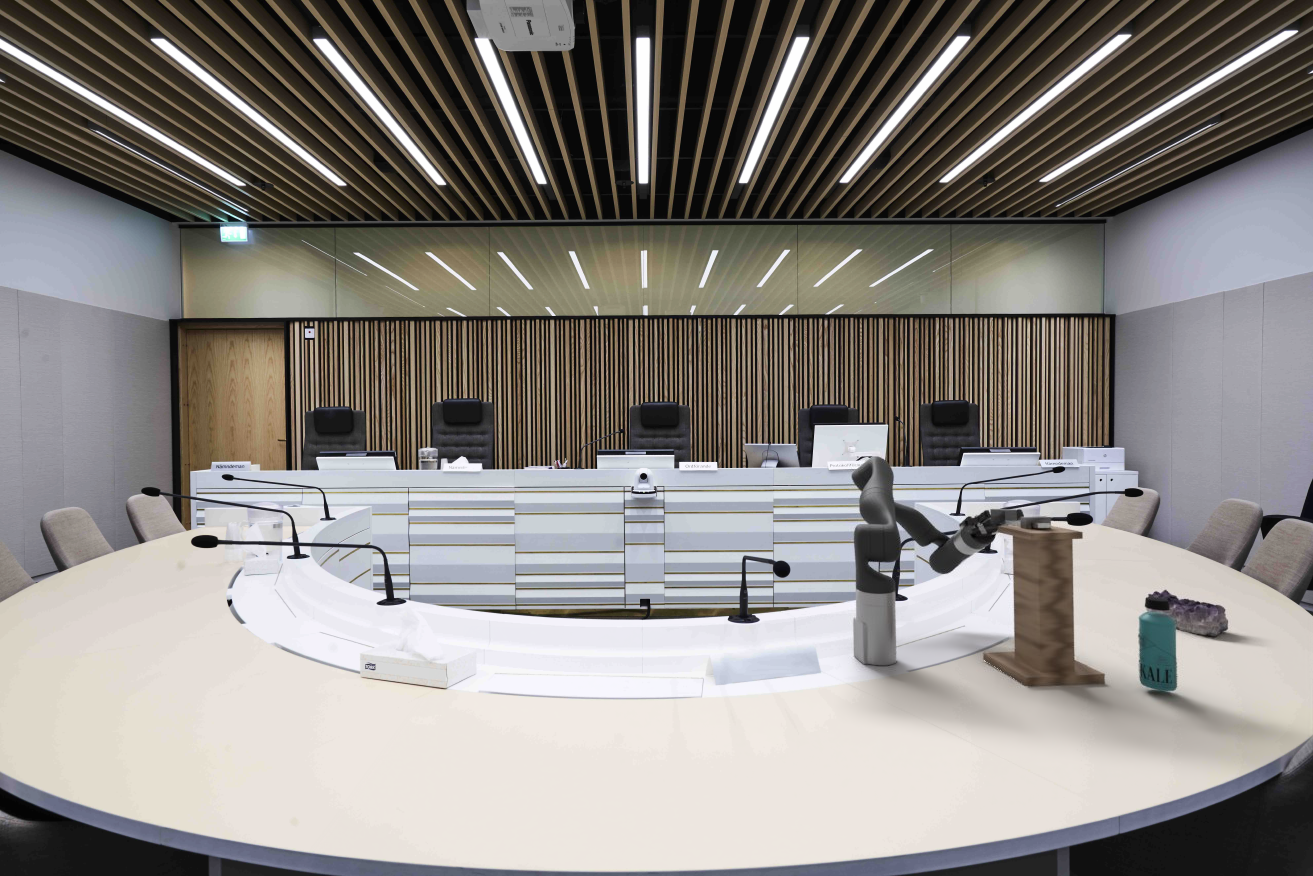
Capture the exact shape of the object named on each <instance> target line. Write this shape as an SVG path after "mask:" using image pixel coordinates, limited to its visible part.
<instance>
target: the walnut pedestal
mask: <svg viewBox="0 0 1313 876" xmlns="http://www.w3.org/2000/svg"><path fill="white" fill-rule="evenodd" d="M1031 523H1050V524H1051V528H1034V527H1031ZM998 532H999V533H1000V534H1004V535H1008V536H1012V569H1013V570H1012V571H1013V574H1012V575H1013V576H1012V578H1013V580H1012V581H1013V585H1012V587H1013V629H1014V630H1013V632H1014V633H1013V634H1014V635H1013V636H1014V637H1013V640H1014V641H1013V642H1014V643H1013V644H1014V646H1013V647H1014V651H996V652H995V651H992V652H983V653H982V660H985V661H986V662H988V663H990V664H991V665H993V666H995V667H996V668H998V669H999V670H1001V671H1002V672H1001V671H1000V672H1001V673H1003V672H1004V673H1005V675H1006V674H1007V675H1006V676H1008V675H1009V676H1011V677H1012V678H1011V677H1010V678H1011V679H1013V678H1014V679H1015V680H1014V679H1013V680H1014V681H1016V680H1017V682H1018V683H1019V682H1020V683H1019V684H1021V683H1022V684H1021V685H1023V686H1025V687H1026V686H1031V687H1049V686H1050V687H1052V686H1071V685H1072V686H1073V685H1091V684H1092V685H1093V684H1105V683H1106V682H1105V681H1106V678H1105V677H1106V676H1105V675H1106V674H1105V673H1103V672H1101V671H1099V670H1098V669H1095V668H1093V667H1090V666H1088V665H1087V664H1084V663H1083V662H1080V661H1078V660H1076V659H1075V614H1074V611H1075V609H1074V608H1075V607H1074V559H1073V558H1074V553H1073V552H1074V550H1073V543H1074V541H1073V540H1081V539H1083V533H1084V532H1083V531H1079V530H1074V529H1070V528H1063V527H1058V526H1054V525H1052V517H1051V516H1046V515H1045V516H1042V515H1041V516H1037V515H1036V516H1024V517H1021V526H998ZM999 533H998V534H999ZM1083 540H1084V539H1083ZM986 662H985V663H986ZM988 663H987V664H988ZM991 665H990V666H991ZM993 666H992V667H993ZM996 668H995V669H996ZM998 669H997V670H998ZM999 670H998V671H999ZM1004 673H1003V674H1004ZM1009 676H1008V677H1009Z"/></svg>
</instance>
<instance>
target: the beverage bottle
mask: <svg viewBox="0 0 1313 876" xmlns="http://www.w3.org/2000/svg"><path fill="white" fill-rule="evenodd" d="M1144 601H1145V603H1144V608H1145V609H1146V608H1149V609H1153V610H1161V611H1167V610H1170V607H1169V601H1168V600H1167V599H1164V598H1159V597H1148V596H1146V597H1145V600H1144ZM1138 623H1139V624H1138V625H1139V626H1138V635H1137V637H1138V644H1139V645H1138V646H1139V648H1138V652H1139V653H1138V658H1139V659H1138V663H1139V670H1138V672H1139V673H1138V677H1139V678H1138V680H1139V681H1140V684H1141V685H1142V686H1144V687H1145V688H1150V689H1153V690H1157V691H1162V692H1164V691H1165V692H1174V691H1176V690H1177V688H1178V679H1179V678H1178V677H1179V676H1178V660H1177V629H1176V621H1175V620H1174V619H1173V618H1172V617H1170V616H1169V615H1167V614H1164V613H1159V612H1147V611H1145V612H1143V613H1141V614H1140V615H1139V617H1138Z"/></svg>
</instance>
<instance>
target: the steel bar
mask: <svg viewBox="0 0 1313 876" xmlns="http://www.w3.org/2000/svg"><path fill="white" fill-rule="evenodd" d="M1016 510H1017V509H1007V508H991V509H990V510H989V512H990V515H991V518H990V519H991V523H997V524H1001V525H1004V524H1006V525H1015V526H1021V520H1017V512H1016ZM1051 526H1052V523H1051V524H1050V523H1031V527H1034V528H1051Z"/></svg>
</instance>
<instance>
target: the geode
mask: <svg viewBox="0 0 1313 876" xmlns="http://www.w3.org/2000/svg"><path fill="white" fill-rule="evenodd" d="M1147 597H1159V598H1164V599H1167V600H1168V601H1169V607H1170V610H1167V611H1161V610H1153V609H1149V608H1146V607H1145V610H1146V612H1159V613H1164V614H1167V615H1169V616H1170V617H1172V618H1173V619H1174V620H1175V621H1176V630H1180V631H1181V632H1186V633H1187V632H1188V633H1192V634H1195V635H1201V636H1208V637H1213V638H1215V637H1217V636H1219V635H1220V634H1221V633H1223V632H1227V631H1228V629H1229V620H1228V619H1227V617H1226V610H1227V609H1225V607H1224V606H1222V605H1220V604H1212V603H1209V602H1207V601H1206V602H1204V601H1201V602H1200V601H1199V600H1196V601H1195V600H1194V599H1189V598H1181V599H1179V597H1178V596H1177V595H1175V594H1172V593H1170V592H1169V591H1168V590H1167V589H1164V590H1163V591H1162V592H1159V591H1156V590H1155V591H1153V593H1148V596H1147Z"/></svg>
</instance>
